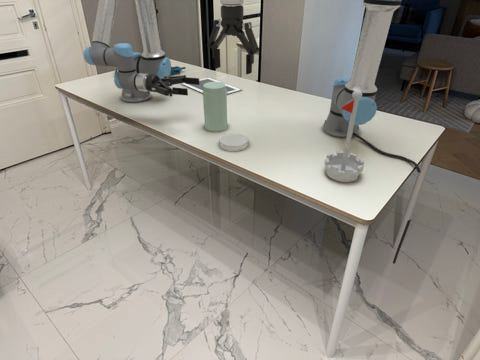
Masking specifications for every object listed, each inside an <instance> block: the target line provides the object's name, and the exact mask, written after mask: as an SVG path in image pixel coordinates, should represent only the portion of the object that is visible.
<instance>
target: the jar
mask: <svg viewBox="0 0 480 360" xmlns="http://www.w3.org/2000/svg"><path fill="white" fill-rule="evenodd" d="M224 83H225V82H222V81H220V82H208V83H205V84H204V85H203V93H202V101H203V114H204V115H203V118H204V119H203V120H204V128H205V130H207V131H208V132H217V133H218V132H223V131H225V130H227V128H228V94H227V90H226V86H225V84H226V83H225V84H224Z"/></svg>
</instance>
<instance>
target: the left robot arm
mask: <svg viewBox="0 0 480 360" xmlns="http://www.w3.org/2000/svg"><path fill="white" fill-rule="evenodd" d="M118 3H119V0H98V4H97V11H96V17H95V22H94V27H93V33H92V40H91V46H87V47H85V48H84V50H83V59H84V61H85V63H87V64H88V65H90V66H97V67H98V66H99V67H101V66H103V67H115V68H116V69H115V70H114V79H113V83H114V86H115V87H116V88H118V89H120V90H121V100H122V101H124V102H125V103H141V102H142V103H143V102H145V101H147V100H149V99H151V97H152V95H151V93H158V94H160V95H162V96H166V97H173V95H175V96H176V95H177V96H188V95H189V91H188V88H187V87H186V88H185V87H173V85H179V84H181V85H182V84H183V83H185V84H195V85H199V80H200V77H199V78H198V77H188V76H187V75H186V74H183V75H171V74H170V72H171V67H172V62H171V59H170V58H169V57H166V52H165V51H164V50H162V45H161V39H160V38H161V37H160V30H159V25H158V24H159V23H158V17H157V11H156V4H155V0H134V3H135V8H136V14H137V15H136V16H137V19H138V26H139V32H140V37H141V43H142V49H143V52H142V53H141V52H139V51H138V52H137V51H136V52H135V51H134V50H133V47H132V45H131V44H130V43H126V42H123V43H121V42H119V43H116V44H114V45H113V47H111V44H112V39H113V31H114V25H115V21H116V20H115V19H116V15H117V9H118ZM170 75H171V76H170Z"/></svg>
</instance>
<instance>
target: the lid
mask: <svg viewBox="0 0 480 360" xmlns="http://www.w3.org/2000/svg"><path fill="white" fill-rule="evenodd" d="M248 146H249V138H248V136H246V135H244V134H242V133H238V132H237V133H234V132H233V133H227V134H223V135H221V136H220V137H219V147H220V148H221V149H222V150H224V151H228V152H239V151H243V150H245V149H246V148H248Z"/></svg>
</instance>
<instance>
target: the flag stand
mask: <svg viewBox="0 0 480 360" xmlns="http://www.w3.org/2000/svg"><path fill="white" fill-rule="evenodd" d="M352 97H353V98H354V100H353V101H351V102H350V103H348V104H347V105H345V106H344V107H342V108H341V109H343V110H346V111H348V112H350V113H351V117H350V122H349V127H348V133H347V138H345V144H344V149H343V150H340V151H338V150H337V151H336V153H335V154H334V153H333V152H329V153H327V154H326V158H325V159H324V162H323V163H324V168H325V169H326V170H325V173H326V175H327V176H328V178H330V179H332V180H334V181H337V182H341V183H350V182H354V181H356V180H357V179H358V178H359V175H360V174H361V173H362V172H363V171H364V166H365V161H364V159H363V158H358V155H357V154H356V153H352V152H350V154H349V151H350V147H351V142H352V138H353V137H352V132H353V127H354V122H355V117H356V112H357V107H358V101H359V99H360V98H361V97H362V92H361V91H360V90H355V91H354V92H353V94H352Z"/></svg>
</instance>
